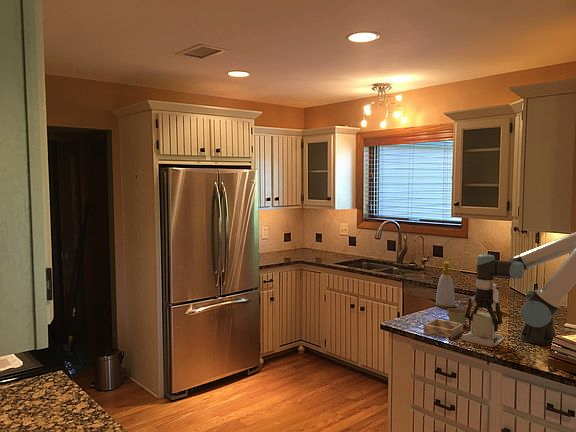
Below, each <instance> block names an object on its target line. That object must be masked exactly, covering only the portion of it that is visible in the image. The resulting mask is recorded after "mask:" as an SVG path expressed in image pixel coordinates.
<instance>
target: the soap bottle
mask: <svg viewBox="0 0 576 432" xmlns="http://www.w3.org/2000/svg"><path fill="white" fill-rule="evenodd" d="M442 265H444V268H442V274H441V275H440V276H439V279H438V284H437V287H436V288H437V289H436V296H435V305H436V306H438V307H439V308H440V307H441V308H447V309H452V308H454V307H456V304H455V300H456V299H455V286H454V281H453V276H452V275H451V269H450V268H449V265H450V261H448V260H445V261H443V263H442Z"/></svg>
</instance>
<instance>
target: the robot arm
mask: <svg viewBox="0 0 576 432" xmlns="http://www.w3.org/2000/svg"><path fill="white" fill-rule="evenodd" d="M568 254H569V255H568ZM566 255H568V256H567V257H566V259H565V260H564V261H563V262H562V263H561V265H560V266H559V267H558V269H556V271H555V272H554V273H553V274H552V275H551V276H550V278H549V279H548V280H547V282H545V284H544V285H543V286H542V288H540V289H535V290H534V289H528V290H527V291H526V294H525V301H524V303H523V304H522V305H521V308H520V315H521V318H522V320H523V321H524V324H523V326H522V329H521V332H520V335H519V336H520V339H521V340H522V341H524V342H526V343H529V344H533V345H540V346H552V345H551V343H552V340H553V337H554V336H557V333H556V329H555V325H554V323H555V321H554V320H555V315H556V313H557V312H558V311H559V310H560V309H561V301H562V300H563V299H564V297H566V295H567V294H568V293H569V292H570V291H571V289H572V288H573V287H574V286H575V285H576V231H575V232H571V233H569V234H567V235H565V236H562V237H560V238H556V239H554V240H552V241H549V242H547V243H545V244H542V245H540V246H537V247H534V248H533V249H530V250H527V251H525V252H522V253H520V254H517V255H515V256H511V257H509V258H507V259H506V260H497V259H496V257H495V255H493V254H485V253H483V254H482V253H481V254H478V255H477V257H476V258H477V259H476V279H475V297H472V296H471V297H469V298H468V300H467V301H468V304H467V308H466V315H465V318H466V319H468V327H469V328H470V331H471V334H472V335H473V314H475V313H477V312H479V309H483V308H485V309H487V310H488V311H487V312H488V313H489V314H490V316H491V317H493V318H492V320H493V323H494V324H493V325H492V339H493V340H495V339H496V338H495V334H496V332H498V331H499V325H501V324H503V323H504V322H503V318H502V312H501V302H500V301H498V302H496V301H494V300H493V289H492V288H493V286H494V284H495V283H494V281H495V277H498V278H506V279H513V280H521V279H523V277H524V273H525V272H524V271H527V270H529V269H531V268H534V267H538V266H540V265H541V264H544V263H549V261H553V260H556V259H559V258H561V257H564V256H566ZM474 302H475V303H476V305H475V307H474V309H473V311H472V308H473V304H474ZM492 304H494V306H495V309H496V311H495V312H494V311H493V308H492V306H491V305H492ZM495 313H496V314H495ZM557 337H558V336H557Z"/></svg>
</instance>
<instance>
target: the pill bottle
mask: <svg viewBox="0 0 576 432" xmlns="http://www.w3.org/2000/svg"><path fill="white" fill-rule="evenodd" d="M492 289H493V300H494V301H496V302H499V294H500V293H499V291H500V290H498V289H497V284H495V283H494V286H493V288H492ZM491 306H492V308H493V311H495V312H496V309H495V306H494V304H492V305H491ZM482 309H483V311H486V312H489V311H488V310H487V309H485V308H482Z"/></svg>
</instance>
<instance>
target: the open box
mask: <svg viewBox="0 0 576 432" xmlns="http://www.w3.org/2000/svg"><path fill="white" fill-rule="evenodd" d="M425 332H426V334H430V333H431V334H430V335H434V334H436V335H435V336H439V335H441V336H440V337H443V336H446V337H445V338H448V337H450V338H449V339H454V338H455V337H457V336H459V335H460V334H461V332H462V333H463V332H464V323H463V324H461V323H456V322H451V321H450V320H445V319H440V318H433V319H432V320H430V321H428V322H426V323H424V324H423V333H425ZM459 333H460V334H459ZM456 335H457V336H456ZM454 336H455V337H454Z"/></svg>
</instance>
